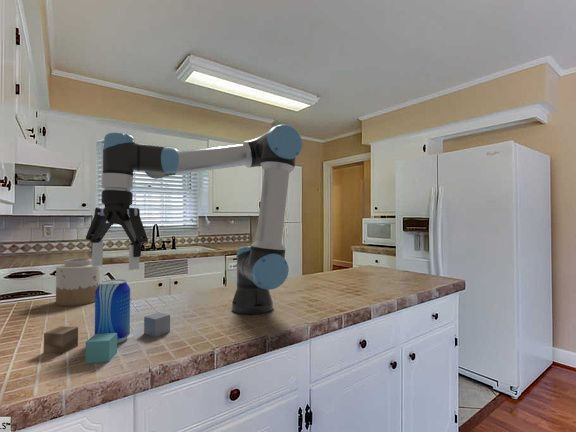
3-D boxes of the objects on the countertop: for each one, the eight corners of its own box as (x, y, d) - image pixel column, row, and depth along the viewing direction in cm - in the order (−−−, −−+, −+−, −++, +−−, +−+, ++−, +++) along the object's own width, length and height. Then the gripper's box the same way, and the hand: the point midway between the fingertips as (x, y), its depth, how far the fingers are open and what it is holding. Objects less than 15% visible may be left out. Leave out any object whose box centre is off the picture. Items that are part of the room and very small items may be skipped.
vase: (46, 303, 123) (47, 260, 123) (84, 295, 137) (85, 256, 137) (72, 308, 117) (73, 263, 117) (109, 298, 131) (110, 258, 131)
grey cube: (170, 331, 93) (170, 314, 93) (155, 337, 89) (155, 319, 89) (158, 328, 95) (158, 312, 95) (144, 333, 91) (144, 316, 91)
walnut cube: (77, 346, 82) (78, 326, 82) (62, 354, 77) (62, 333, 77) (60, 345, 83) (60, 326, 83) (43, 353, 78) (43, 333, 78)
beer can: (104, 335, 90) (104, 278, 90) (134, 334, 91) (135, 278, 91) (87, 347, 81) (88, 285, 82) (121, 346, 82) (122, 284, 82)
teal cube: (116, 353, 78) (117, 332, 78) (109, 362, 73) (109, 340, 73) (95, 354, 77) (95, 334, 77) (85, 363, 72) (85, 341, 72)
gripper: (163, 191, 86) (160, 268, 86) (97, 192, 95) (94, 262, 95) (141, 188, 79) (139, 272, 79) (72, 189, 88) (70, 265, 88)
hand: (115, 267), depth 87 cm, fingers open, 13 cm apart
